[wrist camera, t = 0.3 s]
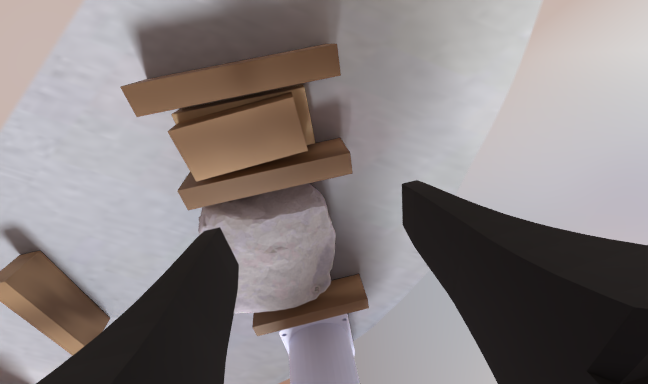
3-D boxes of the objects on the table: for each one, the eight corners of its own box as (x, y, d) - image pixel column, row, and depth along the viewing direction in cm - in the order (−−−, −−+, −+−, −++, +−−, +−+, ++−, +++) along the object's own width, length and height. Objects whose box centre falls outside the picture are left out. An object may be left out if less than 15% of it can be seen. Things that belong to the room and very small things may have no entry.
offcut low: (311, 134, 19) (315, 142, 17) (204, 157, 19) (197, 168, 17) (301, 82, 17) (304, 87, 15) (182, 107, 17) (171, 114, 15)
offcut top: (305, 140, 17) (307, 150, 16) (203, 168, 17) (196, 181, 15) (291, 91, 15) (292, 97, 14) (178, 122, 15) (167, 131, 14)
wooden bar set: (360, 283, 27) (368, 308, 25) (117, 343, 26) (99, 375, 24) (327, 43, 16) (337, 43, 13) (-117, 131, 14) (-202, 150, 12)
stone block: (317, 164, 22) (191, 192, 19) (339, 192, 18) (186, 231, 15) (324, 260, 28) (231, 291, 26) (342, 296, 25) (235, 336, 22)
